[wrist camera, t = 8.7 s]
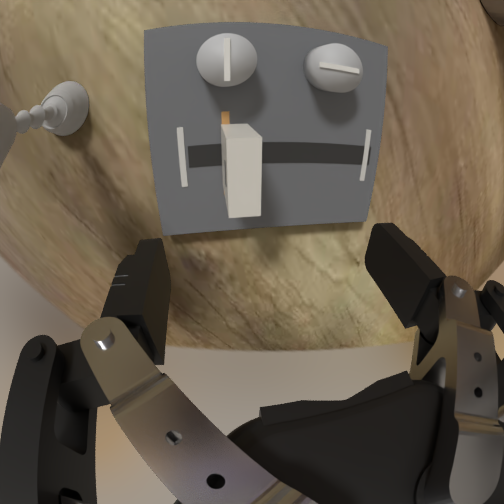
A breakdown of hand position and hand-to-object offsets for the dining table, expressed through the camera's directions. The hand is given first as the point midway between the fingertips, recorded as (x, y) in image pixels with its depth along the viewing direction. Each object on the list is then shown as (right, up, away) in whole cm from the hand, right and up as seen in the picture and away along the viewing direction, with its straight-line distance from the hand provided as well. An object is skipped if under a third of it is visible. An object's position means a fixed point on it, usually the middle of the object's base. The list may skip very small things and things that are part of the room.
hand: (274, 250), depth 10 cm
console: (+1, +11, +11) cm, 15 cm away
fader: (-2, +8, +10) cm, 13 cm away
